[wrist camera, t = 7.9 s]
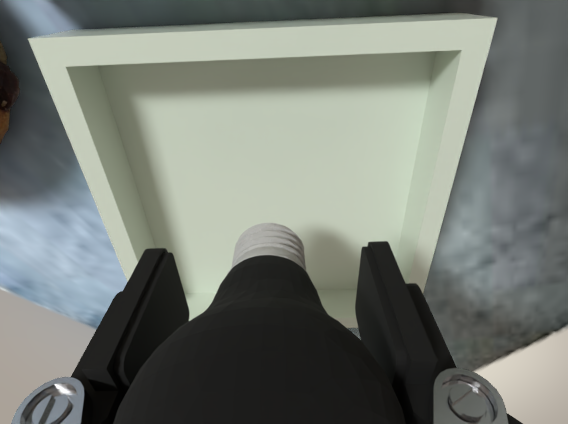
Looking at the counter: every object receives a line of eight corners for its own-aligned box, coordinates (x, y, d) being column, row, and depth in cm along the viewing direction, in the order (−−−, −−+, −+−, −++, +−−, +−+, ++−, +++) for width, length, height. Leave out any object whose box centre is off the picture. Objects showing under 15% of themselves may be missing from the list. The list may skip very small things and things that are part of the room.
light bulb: (272, 308, 15) (262, 703, 7) (160, 235, 13) (-63, 699, 4) (378, 234, 13) (562, 687, 5) (267, 129, 11) (219, 661, 2)
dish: (459, 12, 12) (497, 17, 10) (400, 289, 19) (414, 326, 17) (72, 29, 12) (27, 38, 10) (163, 295, 20) (148, 332, 17)
